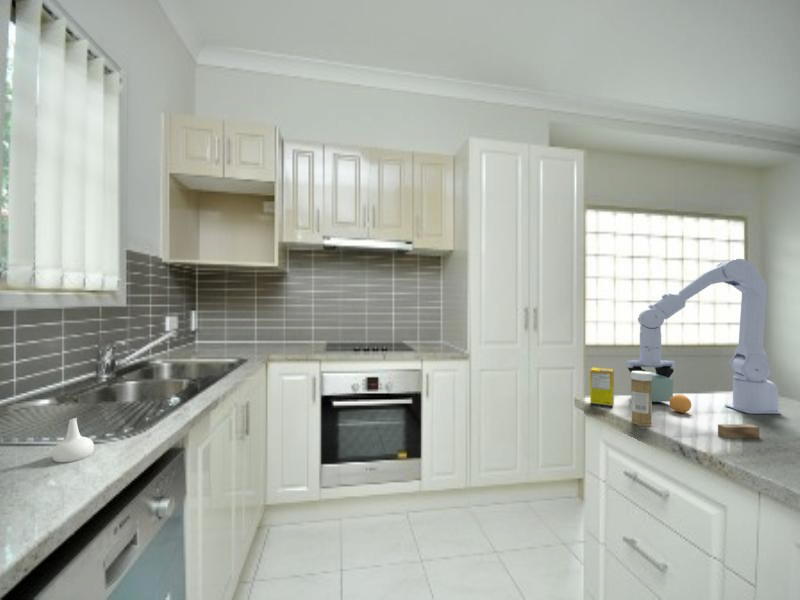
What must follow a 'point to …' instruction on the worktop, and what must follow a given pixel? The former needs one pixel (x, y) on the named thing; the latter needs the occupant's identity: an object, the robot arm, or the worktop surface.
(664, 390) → the pale mint block
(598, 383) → the supplement box
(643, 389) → the sprinkles bottle
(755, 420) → the worktop surface
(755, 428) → the strip
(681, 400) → the ball
